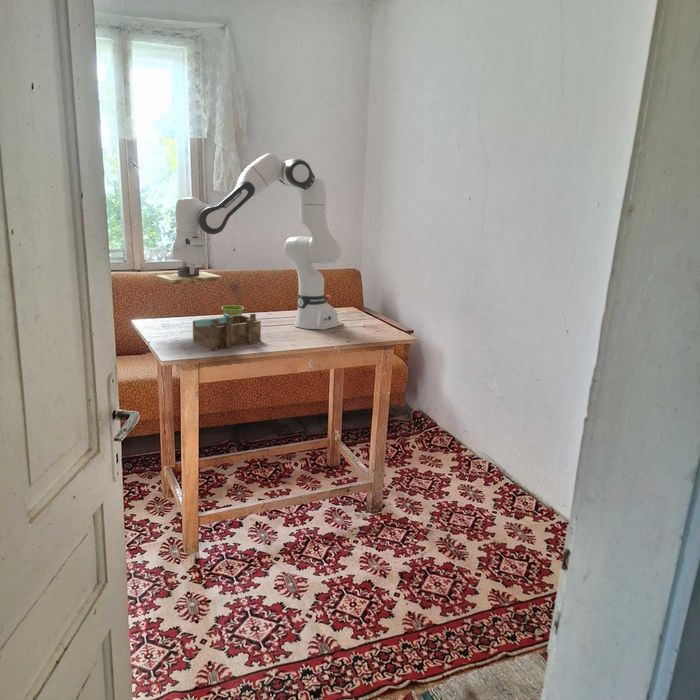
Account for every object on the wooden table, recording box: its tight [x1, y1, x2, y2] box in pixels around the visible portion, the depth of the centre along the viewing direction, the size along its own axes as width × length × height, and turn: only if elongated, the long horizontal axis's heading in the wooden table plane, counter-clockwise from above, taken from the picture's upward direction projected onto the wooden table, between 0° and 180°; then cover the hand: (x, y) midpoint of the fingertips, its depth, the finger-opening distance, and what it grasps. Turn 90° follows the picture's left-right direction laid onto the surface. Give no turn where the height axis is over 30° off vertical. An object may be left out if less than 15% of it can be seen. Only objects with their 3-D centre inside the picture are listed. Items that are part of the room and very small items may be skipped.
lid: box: [155, 265, 223, 285], centre depth 242 cm, size 22×17×5 cm
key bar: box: [194, 313, 230, 327], centre depth 220 cm, size 13×2×3 cm, turn 133°
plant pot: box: [221, 304, 245, 316], centre depth 257 cm, size 9×9×9 cm
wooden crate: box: [192, 313, 262, 352], centre depth 233 cm, size 23×18×12 cm
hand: (188, 273), depth 243 cm, fingers closed on lid, 2 cm apart
